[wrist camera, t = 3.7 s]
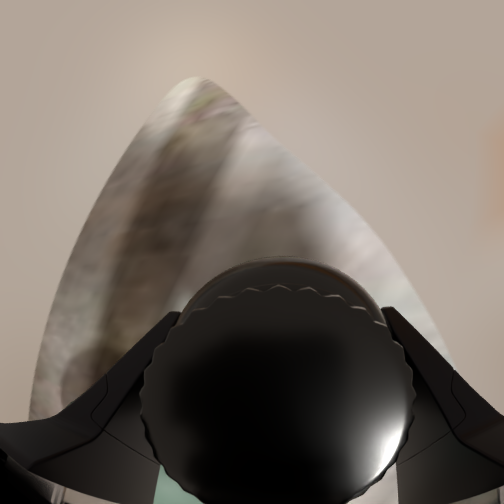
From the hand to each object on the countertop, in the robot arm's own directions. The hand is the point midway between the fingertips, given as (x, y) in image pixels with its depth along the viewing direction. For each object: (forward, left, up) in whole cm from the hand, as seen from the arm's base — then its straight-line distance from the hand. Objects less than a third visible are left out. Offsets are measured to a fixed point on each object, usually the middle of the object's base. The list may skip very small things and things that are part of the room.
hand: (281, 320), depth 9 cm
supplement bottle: (-1, 0, -7) cm, 7 cm away
